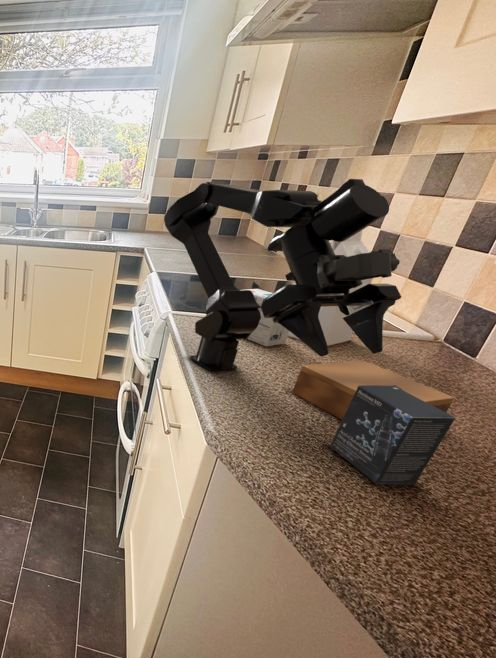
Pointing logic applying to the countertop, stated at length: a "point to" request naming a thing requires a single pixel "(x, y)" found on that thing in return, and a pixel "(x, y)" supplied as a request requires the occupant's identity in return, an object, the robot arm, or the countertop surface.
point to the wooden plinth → (356, 385)
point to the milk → (331, 315)
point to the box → (390, 434)
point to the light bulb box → (267, 325)
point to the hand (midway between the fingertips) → (351, 354)
